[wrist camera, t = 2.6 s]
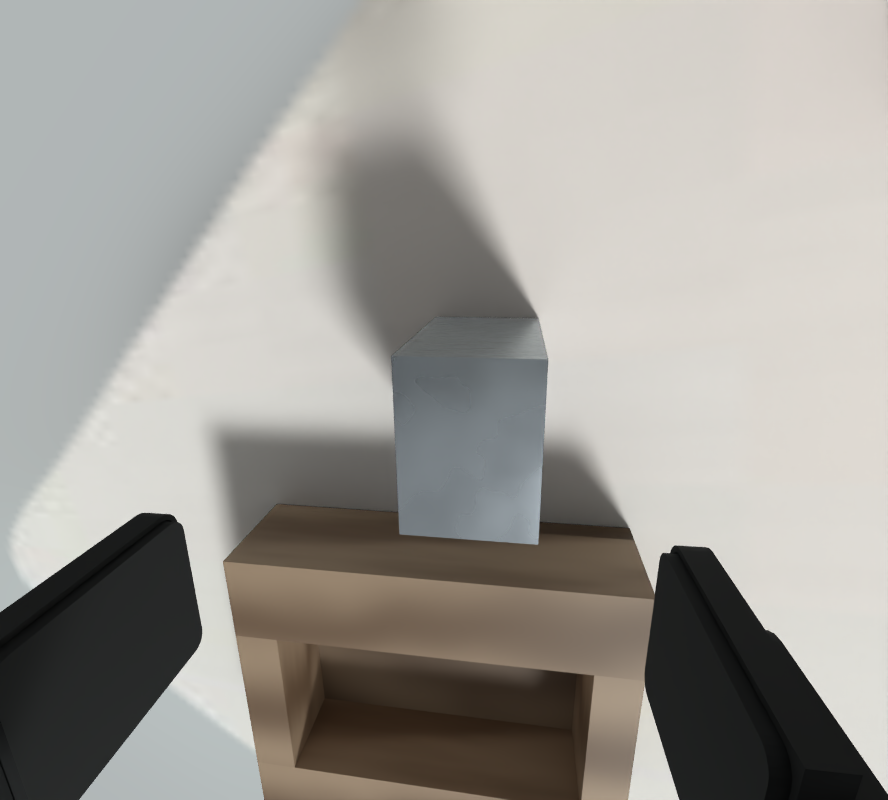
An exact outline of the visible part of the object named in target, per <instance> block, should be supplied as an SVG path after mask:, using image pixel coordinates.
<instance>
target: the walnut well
mask: <svg viewBox="0 0 888 800" xmlns="http://www.w3.org/2000/svg"><path fill="white" fill-rule="evenodd" d="M223 565H224V570H225V576H226V582H227V588H228V593H229V599H230V605H231V611H232V616H233V622H234V628H235V634H236V639H237V645H238V651H239V657H240V662H241V668H242V674H243V680H244V685H245V691H246V697H247V703H248V708H249V714H250V720H251V726H252V731H253V737H254V743H255V749H256V754H257V760H258V766H259V772H260V777H261V783H262V789H263V794H264V800H628V795H629V788H630V781H631V775H632V768H633V761H634V754H635V747H636V740H637V733H638V726H639V719H640V712H641V705H642V698H643V691H644V685H645V677H644V673H645V664H646V657H647V649H648V642H649V635H650V627H651V620H652V613H653V605H654V598H655V594H654V591H653V589H652V586H651V583H650V581H649V578H648V576H647V573H646V570H645V568H644V565H643V562H642V560H641V557H640V554H639V552H638V549H637V547H636V544H635V541H634V539H633V536H632V533H631V531H630V528H617V527H603V526H588V525H574V524H559V523H545V522H539V539H538V545H534V544H521V543H508V542H495V541H481V540H468V539H455V538H441V537H428V536H415V535H401V534H399V514H398V512H384V511H370V510H355V509H341V508H326V507H311V506H297V505H282V504H276V505H275V507H274V508H273V509H272V510H271V511H270V512H269V513H268V514H267V515H266V516H265V517H264V518H263V519H262V520H261V521H260V523H259V524H258V525H257V526H256V527H255V528H254V529H253V530H252V531H251V532H250V533H249V534H248V535H247V536H246V538H245V539H244V540H243V541H242V542H241V543H240V544H239V545H238V546H237V547H236V548H235V549H234V550H233V551H232V552H231V554H230V555H229V556H228V557H227V558H226V559H225V560H224V561H223Z"/></svg>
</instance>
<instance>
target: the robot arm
mask: <svg viewBox="0 0 888 800" xmlns="http://www.w3.org/2000/svg"><path fill="white" fill-rule="evenodd" d="M201 638H202V626H201V621H200V615H199V610H198V604H197V599H196V594H195V588H194V583H193V577H192V572H191V567H190V561H189V556H188V551H187V545H186V540H185V534H184V529H183V526H182V525H181V524H180V523H178V522H177V520H176V519H175V517H174V516H172V515H170V514H155V513H141V514H139V515H137V516H135V517H134V518H133V519H131V520H130V521H128V522H127V523H126V524H124V525H123V526H121V527H120V528H118V529H117V530H116V531H114V532H113V533H111V534H110V535H109V536H107V537H106V538H104V539H103V540H102V541H100V542H99V543H97V544H96V545H95V546H93V547H92V548H90V549H89V550H87V551H86V552H85V553H83V554H82V555H80V556H79V557H78V558H76V559H75V560H73V561H72V562H71V563H69V564H68V565H66V566H65V567H63V568H62V569H61V570H59V571H58V572H56V573H55V574H54V575H52V576H51V577H49V578H48V579H47V580H45V581H44V582H42V583H41V584H39V585H38V586H37V587H35V588H34V589H32V590H31V591H30V592H28V593H27V594H26V595H24V596H23V597H22V598H20V599H18V600H17V601H16V602H14V603H13V604H11V605H10V606H9V607H7V608H6V609H4V610H3V611H1V612H0V800H79V799H80V798H81V796H82V795H83V794H84V793H85V791H86V790H87V789H88V788H89V786H90V785H91V784H92V782H93V781H94V780H95V779H96V777H97V776H98V775H99V773H100V772H101V771H102V770H103V768H104V767H105V766H106V765H107V763H108V762H109V760H110V759H111V758H112V757H113V756H114V754H115V753H116V752H117V751H118V749H119V748H120V747H121V745H122V744H123V743H124V742H125V740H126V739H127V738H128V737H129V735H130V734H131V733H132V731H133V730H134V729H135V728H136V726H137V725H138V724H139V722H140V721H141V720H142V719H143V717H144V716H145V715H146V714H147V712H148V711H149V710H150V708H151V707H152V706H153V705H154V703H155V702H156V701H157V699H158V698H159V697H160V696H161V694H162V693H163V692H164V691H165V689H166V688H167V687H168V686H169V684H170V683H171V682H172V681H173V679H174V678H175V677H176V675H177V674H178V673H179V672H180V670H181V669H182V668H183V667H184V665H185V664H186V663H187V661H188V660H189V659H190V658H191V656H192V655H193V654H194V653H195V651H196V650H197V648H198V646H199V644H200V642H201ZM644 677H645V688H646V693H647V697H648V700H649V703H650V706H651V710H652V713H653V716H654V719H655V723H656V726H657V729H658V732H659V735H660V739H661V742H662V745H663V748H664V752H665V755H666V758H667V761H668V765H669V768H670V771H671V774H672V778H673V781H674V784H675V787H676V790H677V794H678V797H679V800H888V794H887V793H886V791H885V790H884V788H883V787H882V785H881V784H880V783H879V781H878V780H877V778H876V777H875V775H874V774H873V773H872V771H871V770H870V768H869V767H868V765H867V764H866V762H865V761H864V760H863V758H862V757H861V755H860V754H859V752H858V751H857V750H856V748H855V747H854V745H853V744H852V742H851V741H850V739H849V738H848V737H847V735H846V734H845V732H844V731H843V729H842V728H841V727H840V725H839V724H838V722H837V721H836V719H835V718H834V716H833V715H832V714H831V712H830V711H829V709H828V708H827V706H826V705H825V704H824V702H823V701H822V699H821V698H820V696H819V695H818V693H817V692H816V691H815V689H814V688H813V686H812V685H811V683H810V682H809V681H808V679H807V678H806V676H805V675H804V673H803V672H802V670H801V669H800V668H799V666H798V665H797V663H796V662H795V660H794V659H793V658H792V656H791V655H790V653H789V652H788V650H787V649H786V647H785V646H784V645H783V643H782V642H781V641H780V639H779V638H778V637H777V636H776V635H775V634H774V633H772V632H770V631H768V630H765V629H764V628H763V626H762V625H761V623H760V622H759V620H758V619H757V617H756V616H755V614H754V613H753V611H752V610H751V608H750V607H749V605H748V604H747V602H746V601H745V599H744V598H743V596H742V595H741V593H740V592H739V590H738V589H737V587H736V586H735V584H734V583H733V582H732V580H731V579H730V577H729V576H728V574H727V573H726V571H725V570H724V568H723V567H722V565H721V564H720V562H719V561H718V559H717V558H716V556H715V555H714V553H713V552H712V551H711V550H710V549H709V548H706V547H691V546H674V547H672V550H671V552H670V553H663V554H662V555H661V557H660V561H659V569H658V576H657V583H656V591H655V598H654V605H653V613H652V620H651V627H650V635H649V642H648V649H647V657H646V664H645V673H644Z"/></svg>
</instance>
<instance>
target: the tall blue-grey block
mask: <svg viewBox="0 0 888 800" xmlns="http://www.w3.org/2000/svg"><path fill="white" fill-rule="evenodd" d="M391 361H392V383H393V405H394V426H395V448H396V470H397V492H398V514H399V534H401V535H415V536H428V537H441V538H455V539H468V540H481V541H495V542H508V543H521V544H534V545H538V539H539V521H540V502H541V484H542V465H543V447H544V428H545V410H546V391H547V373H548V356H547V352H546V348H545V344H544V339H543V335H542V331H541V326H540V322H539V318H499V317H435V318H434V319H433V320H432V321H431V322H430V323H428V324H427V325H426V326H425V327H424V328H423V329H422V330H420V331H419V332H418V333H417V334H416V335H415V336H414V337H412V338H411V339H410V340H409V341H408V342H407V343H406V344H404V345H403V346H402V347H401V348H400V349H399V350H398V351H396V352H395V353H394V354H393V355H392V356H391Z"/></svg>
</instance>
